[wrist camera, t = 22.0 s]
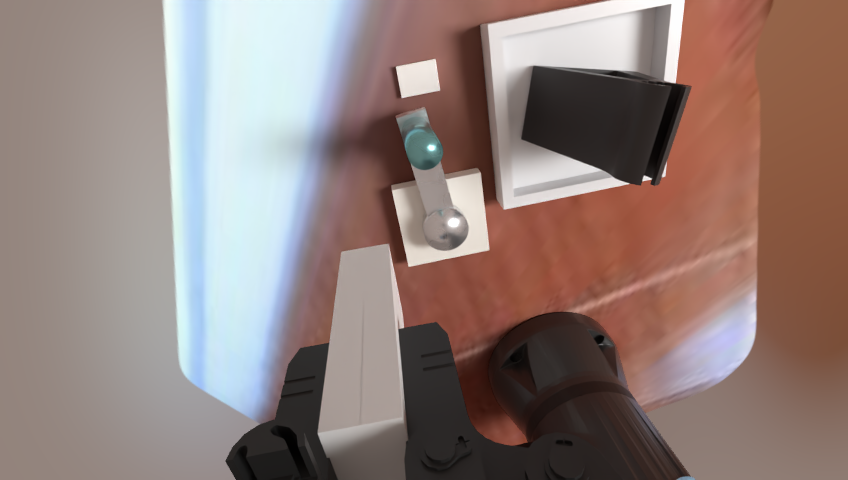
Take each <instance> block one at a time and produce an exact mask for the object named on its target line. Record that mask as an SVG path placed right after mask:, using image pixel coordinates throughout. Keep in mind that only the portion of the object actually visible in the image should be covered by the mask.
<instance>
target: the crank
mask: <svg viewBox="0 0 848 480" xmlns="http://www.w3.org/2000/svg"><path fill="white" fill-rule="evenodd" d="M396 120H397V123H398V126H399V129H400V132H401V135H402V139H403V142H404V146H405V149H406V153H407V157H408V160H409V162H410V163H411V166H412V170H413V173H414V176H415V179H416V182H417V185H418V188H419V191H420V194H421V198H422V201H423V204H424V207H425V210H426V213H425V215H424V217H423V220H422V228H423V232H424V236H425V239H426V241H427V243H428V244H429V245H430V246H431V247H433V248H435V249H437V250H441V251H448V250H453V249H455V248H457V247H459V246H460V245H461V244H462V243H463V242H464V241H465V240H466V238H467V235H468V232H469V226H468V222H467V220H466V218H465V216H464V214H463V212H462V211H461V210H460V209H459V208H458V207H457V206H455V205H453V204H452V200H451V197H450V193H449V189H448V186H447V182H446V179H445V175H444V172H443V168H442V165H441V159H442V156H443V147H442V145H441V143H440V141H439V139H438V138H437V136H436V134H435V133H434V131H433V129H432V128H431V126H430V123H429V119H428V116H427V112H426V109H425V107H424V106H423V107H420V108H417V109H414V110H411V111H408V112H405V113H402V114H399V115H396Z"/></svg>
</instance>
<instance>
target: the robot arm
mask: <svg viewBox="0 0 848 480" xmlns="http://www.w3.org/2000/svg"><path fill="white" fill-rule="evenodd" d="M488 377H489V381H490V384H491V387H492V390H493V393H494V396H495V398H496V400H497V402H498V403H499V405H500V406H501V407H502V408H503V410H504V411H505V412H506V413H507V415H508V416H509V417H510V418H511V419H512V421H513V422H514V423H515V424H516V425H517V427H518V428H519V429H520V430H521V431H522V433H523V434H524V435H525V436H526V439H527V441H528V443H524V444H520V445H514V446H509V445H504V444H500V443H495V442H493V441H491V440H489V439H487V438H485V437H484V436H483V435H481V434H480V433H479V432H478V431H477V430H476V429H475V428H474V426H473V425H472V424H471V422H470V419H469V417H468V414H467V410H466V406H465V402H464V398H463V394H462V390H461V386H460V382H459V378H458V374H457V370H456V366H455V362H454V358H453V354H452V350H451V346H450V342H449V338H448V334H447V333H446V332H445V331H444V330H443V329H442V328H441V327H440V325H439V324H438V323H437V322H434V323H429V324H423V325H418V326H412V327H407V328H404V323H403V313H402V308H401V303H400V298H399V293H398V288H397V283H396V278H395V273H394V268H393V263H392V258H391V253H390V248H389V244H384V245H378V246H372V247H367V248H361V249H355V250H349V251H344V252H341V259H340V267H339V274H338V282H337V290H336V297H335V305H334V312H333V320H332V328H331V335H330V343H326V344H320V345H315V346H309V347H304V348H300V349H299V351H298V352H297V353H296V355H295V356H294V357H293V359H292V360H291V362H290V363H289V364H288V368H287V373H286V377H285V381H284V382H285V385H283V389H282V393H281V399H280V401H279V405H278V409H277V413H276V417H275V420H272V421H269V422H266V423H263V424H260V425H258V426H256V427H255V428H253V429H252V430H250V431H249V432H247V433H246V434H244V435H243V437H242V438H241V439H240V440H239V441H238V442H237V443H236V444H235V445H234V446H233V447H232V450H231V451H230V453H229V455H228V457H227V459H226V463H227V465H228V466H229V468H230V470H231V472H232V473H233V475H234V477H235V479H236V480H695V479H694V478H693V477H691V476H690V475H689V473H688V472H687V470H686V469H685V468H684V466H683V465H682V463H681V462H680V461H679V459H678V458H677V457H676V455H675V454H674V452H673V451H672V450H671V448H670V447H669V446H668V444H667V443H666V441H665V440H664V439H663V437H662V436H661V434H660V433H659V432H658V430H657V429H656V428H655V426H654V425H653V424H652V422H651V421H650V419H649V418H648V417H647V415H646V414H645V412H644V411H643V410H642V408H641V407H640V405H639V404H638V403H637V401H636V400H635V398H634V397H633V396H632V394H631V393H630V391H629V389H628V385H627V382H626V378H625V374H624V371H623V367H622V364H621V360H620V356H619V353H618V350H617V347H616V345H615V343H614V342H613V340H612V339H611V337H610V336H609V335H608V333H607V332H606V331H605V330H604V328H603V327H602V326H601V325H600V324H599V323H598V322H596V321H595V320H593V319H592V318H590V317H587V316H585V315H581V314H577V313H569V312H559V313H551V314H546V315H542V316H539V317H536V318H533V319H531V320H529V321H527V322H525V323H523V324H521V325H519V326H518V327H516V328H515V329H513V330H512V331H511V332H510V333H508V334H507V335H506V336H505V337H504V338H503V339H502V340H501V342H500V343H499V344H498V345H497V347H496V348H495V350H494V352H493V354H492V356H491V359H490V362H489V367H488Z"/></svg>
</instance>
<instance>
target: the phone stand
mask: <svg viewBox="0 0 848 480" xmlns="http://www.w3.org/2000/svg"><path fill="white" fill-rule="evenodd" d="M691 87H692V86H688V85H683V84H677V83H671V82H667V81H664V80H661V79H658V78H655V77H652V76H648V75H645V74H642V73H639V72H635V71H621V70H604V69H587V68H586V69H585V68H570V67H553V66H536V65H533V70H532V76H531V82H530V88H529V94H528V100H527V106H526V113H525V119H524V125H523V131H522V137H521V139H522V140H524V141H527V142H529V143H532V144H535V145H537V146H540V147H543V148H545V149H548V150H551V151H553V152H556V153H559V154H561V155H564V156H566V157H569V158H572V159H574V160H577V161H580V162H582V163H585V164H588V165H590V166H593V167H596V168H598V169H601V170H603V171H605V172H607V173H609V174H610V175H611V176H612V177H614V178H615V179H617V180H620V181H623V182H626V183H630V184H635V185H641V183H642V180H643V177H644V176H647V177H649V178H651V179H652V181H651V185H654V186H655V185H658V184H659V183H660V181H661V178H662V174H663V171H664V168H665V165H666V162H667V159H668V156H669V153H670V150H671V147H672V144H673V141H674V138H675V135H676V132H677V129H678V126H679V123H680V120H681V117H682V114H683V111H684V108H685V105H686V102H687V99H688V96H689V93H690V90H691Z"/></svg>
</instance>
